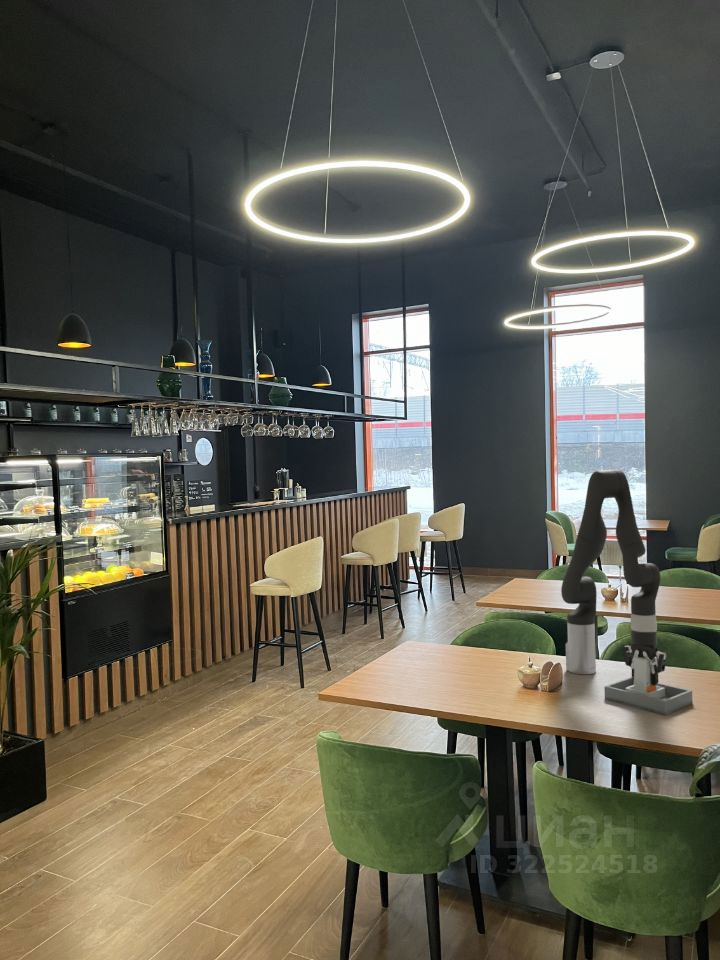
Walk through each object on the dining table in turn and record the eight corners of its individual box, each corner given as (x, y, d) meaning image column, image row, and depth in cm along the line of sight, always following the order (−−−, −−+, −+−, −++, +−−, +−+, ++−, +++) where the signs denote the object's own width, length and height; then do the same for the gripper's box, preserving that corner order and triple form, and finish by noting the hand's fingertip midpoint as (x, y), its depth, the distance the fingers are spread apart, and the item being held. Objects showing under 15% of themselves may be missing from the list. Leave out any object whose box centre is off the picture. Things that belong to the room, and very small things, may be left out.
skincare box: (645, 699, 218) (646, 660, 218) (633, 695, 222) (633, 657, 221) (657, 695, 222) (657, 657, 221) (644, 691, 225) (645, 654, 225)
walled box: (604, 699, 222) (604, 686, 222) (632, 689, 231) (632, 676, 231) (665, 715, 206) (665, 701, 206) (692, 703, 215) (692, 690, 215)
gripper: (616, 626, 225) (617, 680, 225) (658, 634, 213) (660, 690, 214) (629, 622, 229) (631, 675, 230) (672, 630, 218) (673, 685, 218)
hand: (645, 682), depth 222 cm, fingers open, 5 cm apart
